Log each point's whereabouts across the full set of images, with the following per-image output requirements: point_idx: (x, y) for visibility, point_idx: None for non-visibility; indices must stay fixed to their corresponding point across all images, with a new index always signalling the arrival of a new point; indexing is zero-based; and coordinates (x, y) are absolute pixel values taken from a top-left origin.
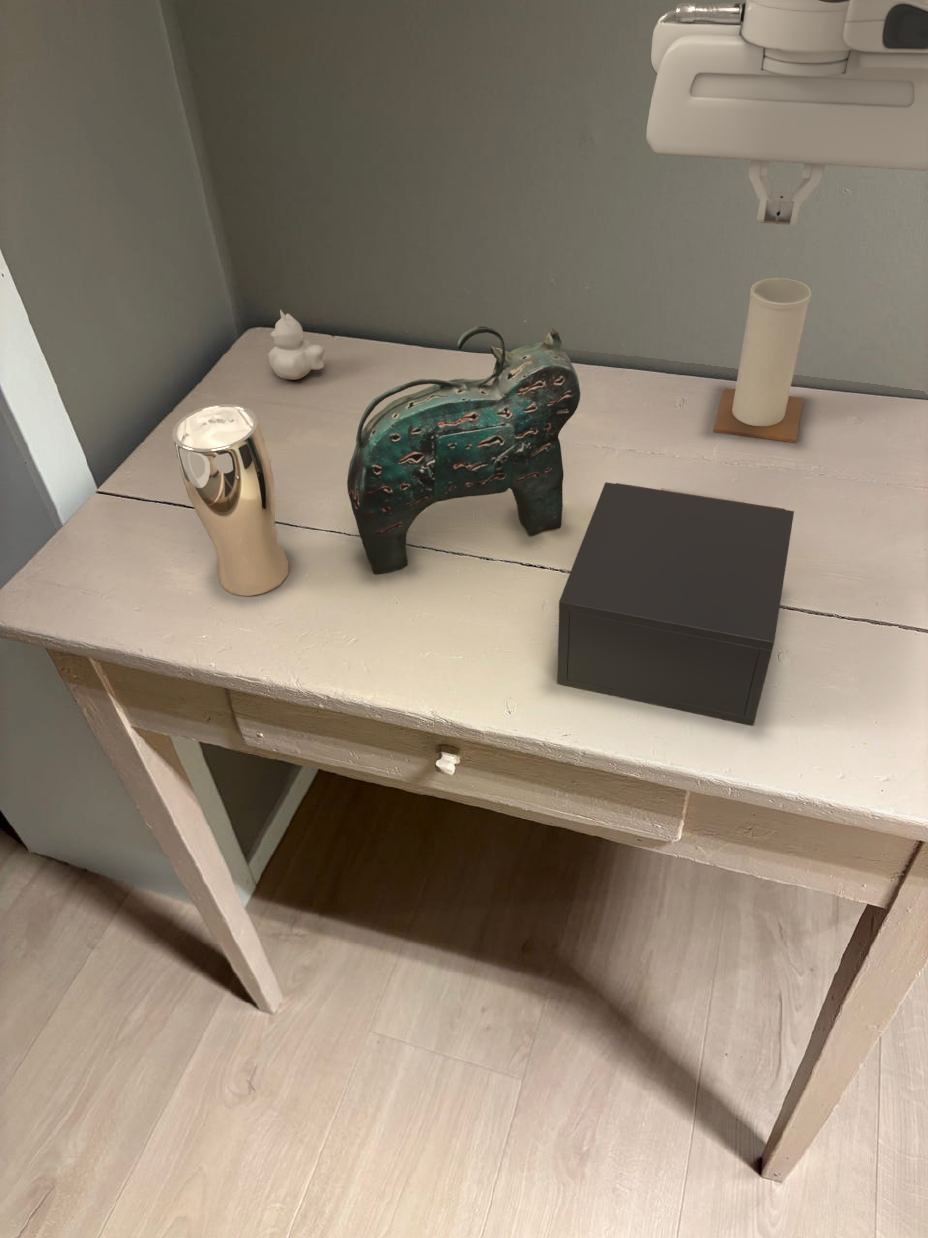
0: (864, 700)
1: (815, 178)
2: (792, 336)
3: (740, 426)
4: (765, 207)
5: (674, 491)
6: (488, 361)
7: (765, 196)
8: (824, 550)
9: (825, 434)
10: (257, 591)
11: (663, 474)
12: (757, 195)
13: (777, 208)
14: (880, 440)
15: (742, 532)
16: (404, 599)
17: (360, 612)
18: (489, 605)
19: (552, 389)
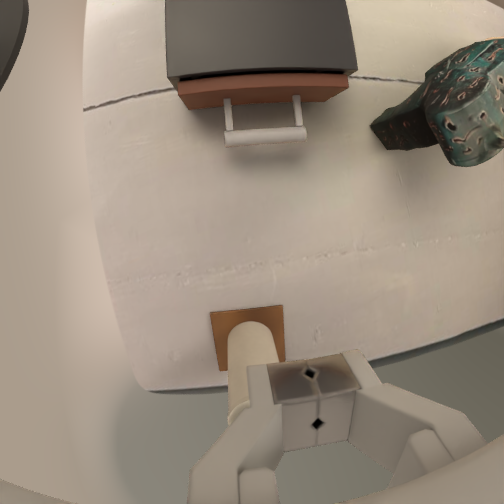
0: (113, 32)
1: (215, 473)
2: (234, 381)
3: (260, 316)
4: (355, 373)
5: (293, 135)
6: (456, 326)
7: (372, 393)
8: (154, 169)
9: (189, 331)
10: (487, 38)
11: (309, 227)
12: (397, 387)
13: (318, 381)
14: (148, 335)
15: (210, 30)
16: (427, 37)
17: (440, 25)
18: (380, 35)
19: (460, 91)
